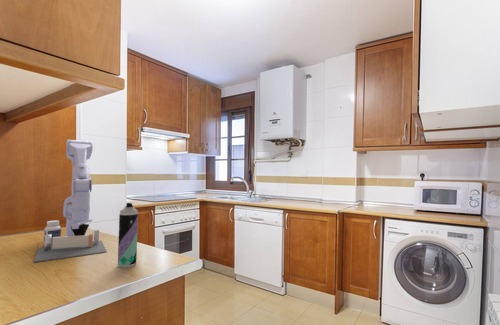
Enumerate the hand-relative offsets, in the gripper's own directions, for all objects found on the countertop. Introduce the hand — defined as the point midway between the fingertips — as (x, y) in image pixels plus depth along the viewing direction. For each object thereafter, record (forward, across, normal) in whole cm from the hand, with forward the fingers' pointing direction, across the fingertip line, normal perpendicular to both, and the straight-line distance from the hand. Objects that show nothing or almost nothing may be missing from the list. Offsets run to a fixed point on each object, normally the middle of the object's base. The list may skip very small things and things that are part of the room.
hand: (79, 243), depth 102 cm
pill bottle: (+2, +7, +11) cm, 13 cm away
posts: (+2, +1, +2) cm, 3 cm away
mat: (+2, -3, +2) cm, 4 cm away
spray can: (+2, -26, -20) cm, 32 cm away
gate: (+1, -1, +2) cm, 2 cm away
